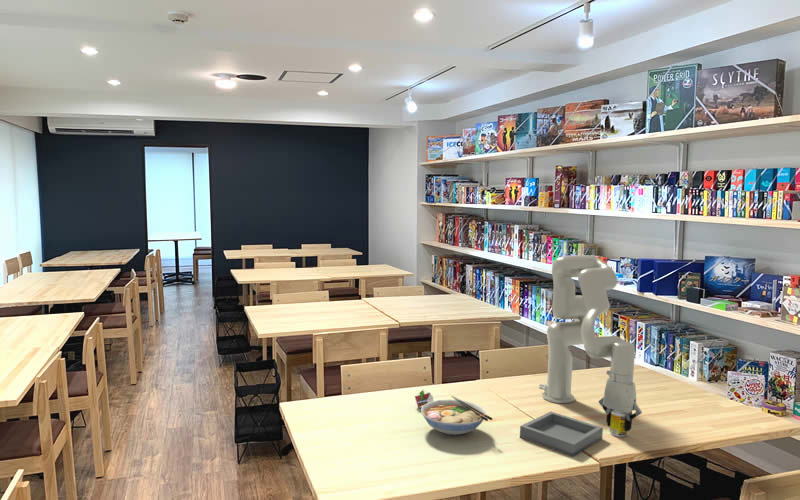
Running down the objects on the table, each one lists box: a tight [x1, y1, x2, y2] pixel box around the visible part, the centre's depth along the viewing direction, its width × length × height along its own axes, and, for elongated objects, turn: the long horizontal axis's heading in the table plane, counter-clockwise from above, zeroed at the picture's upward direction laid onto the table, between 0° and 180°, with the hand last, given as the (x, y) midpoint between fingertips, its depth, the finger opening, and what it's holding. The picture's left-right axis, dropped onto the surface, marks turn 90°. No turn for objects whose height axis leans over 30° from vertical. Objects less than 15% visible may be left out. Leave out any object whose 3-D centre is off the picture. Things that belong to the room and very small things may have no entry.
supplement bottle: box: [609, 410, 628, 438], centre depth 203 cm, size 6×6×10 cm
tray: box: [519, 411, 604, 457], centre depth 199 cm, size 20×20×4 cm
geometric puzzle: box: [414, 389, 434, 408], centre depth 225 cm, size 7×7×8 cm
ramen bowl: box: [420, 395, 493, 436], centre depth 203 cm, size 25×23×8 cm
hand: (618, 427), depth 203 cm, fingers closed on supplement bottle, 5 cm apart
